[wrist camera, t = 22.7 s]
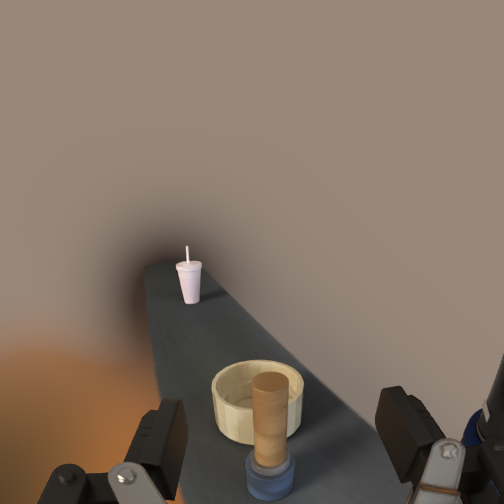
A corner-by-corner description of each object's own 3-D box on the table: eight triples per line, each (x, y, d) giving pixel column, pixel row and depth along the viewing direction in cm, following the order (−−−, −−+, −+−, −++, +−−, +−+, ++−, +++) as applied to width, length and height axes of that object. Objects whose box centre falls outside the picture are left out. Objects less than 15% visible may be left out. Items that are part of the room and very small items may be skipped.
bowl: (305, 398, 39) (308, 363, 38) (294, 453, 29) (296, 417, 28) (231, 390, 42) (228, 355, 41) (204, 439, 32) (197, 402, 31)
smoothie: (201, 295, 82) (197, 242, 79) (207, 303, 76) (203, 247, 73) (177, 298, 80) (172, 245, 77) (181, 307, 74) (176, 250, 71)
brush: (296, 471, 27) (304, 367, 24) (288, 503, 22) (297, 402, 19) (253, 465, 28) (248, 362, 25) (241, 497, 24) (231, 395, 21)
